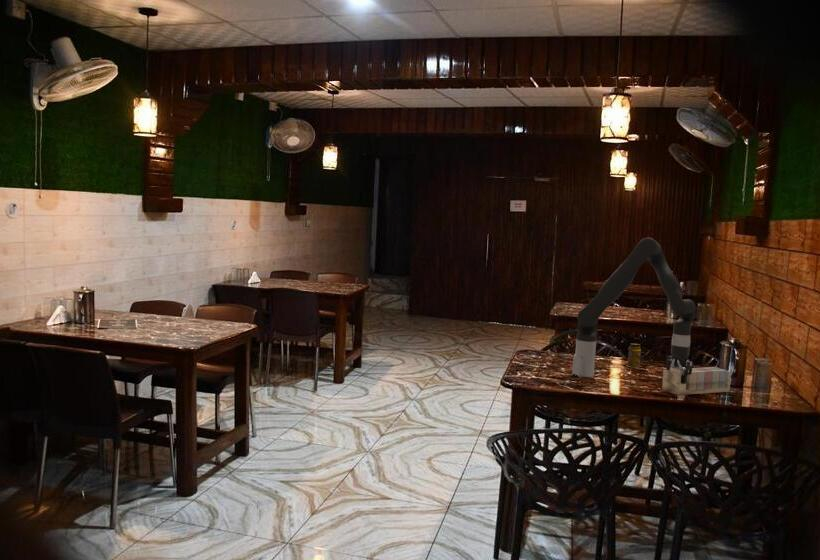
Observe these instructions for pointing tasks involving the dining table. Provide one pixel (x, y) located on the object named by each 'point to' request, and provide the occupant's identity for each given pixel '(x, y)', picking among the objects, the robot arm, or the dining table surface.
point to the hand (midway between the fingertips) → (677, 381)
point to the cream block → (678, 371)
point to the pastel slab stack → (698, 381)
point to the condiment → (634, 355)
